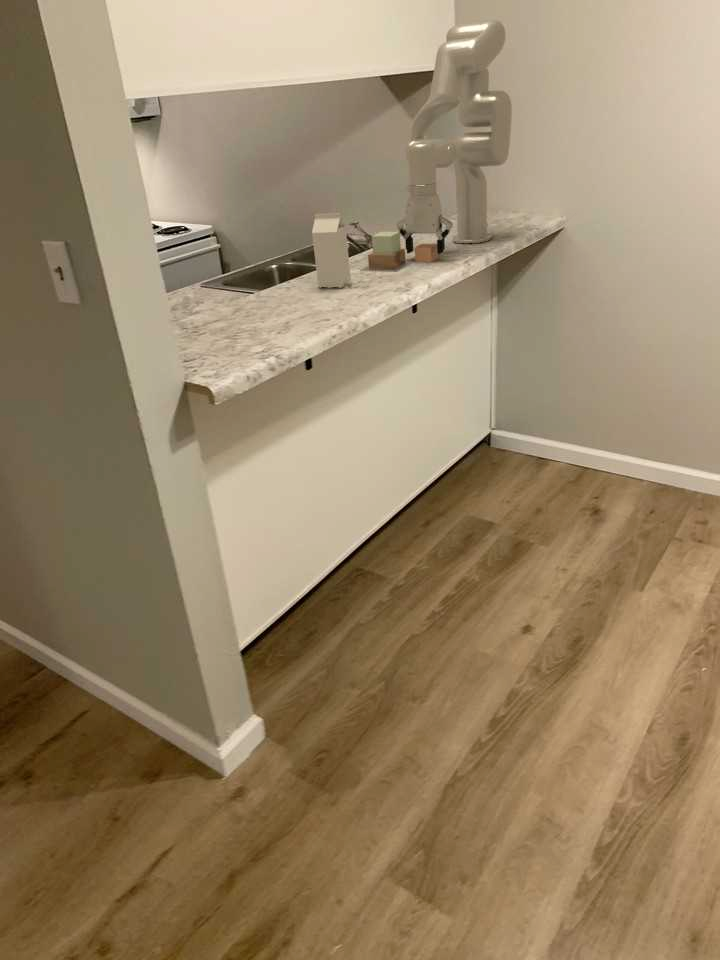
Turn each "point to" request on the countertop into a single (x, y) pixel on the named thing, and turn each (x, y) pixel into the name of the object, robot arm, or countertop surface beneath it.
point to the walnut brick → (386, 260)
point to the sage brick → (386, 242)
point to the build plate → (387, 269)
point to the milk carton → (331, 250)
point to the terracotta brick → (426, 253)
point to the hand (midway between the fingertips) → (425, 252)
